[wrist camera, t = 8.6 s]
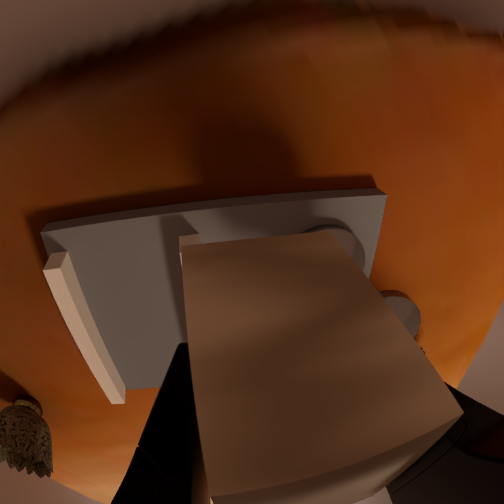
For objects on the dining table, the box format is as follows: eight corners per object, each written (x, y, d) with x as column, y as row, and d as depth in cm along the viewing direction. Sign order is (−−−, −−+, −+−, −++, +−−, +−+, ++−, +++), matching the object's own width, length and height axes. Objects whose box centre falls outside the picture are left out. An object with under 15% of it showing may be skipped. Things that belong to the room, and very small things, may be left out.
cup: (3, 373, 23) (-13, 440, 16) (66, 401, 26) (59, 469, 20) (-3, 401, 25) (-15, 458, 18) (51, 424, 29) (45, 482, 22)
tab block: (329, 230, 9) (464, 412, 4) (308, 350, 11) (372, 495, 6) (180, 246, 8) (210, 497, 3) (199, 368, 11) (230, 533, 6)
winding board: (377, 188, 21) (402, 206, 18) (342, 344, 30) (354, 367, 27) (46, 223, 17) (30, 248, 14) (112, 380, 26) (110, 407, 23)
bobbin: (367, 220, 21) (435, 289, 14) (351, 293, 24) (400, 366, 18) (276, 229, 20) (325, 315, 13) (272, 307, 23) (307, 394, 17)
